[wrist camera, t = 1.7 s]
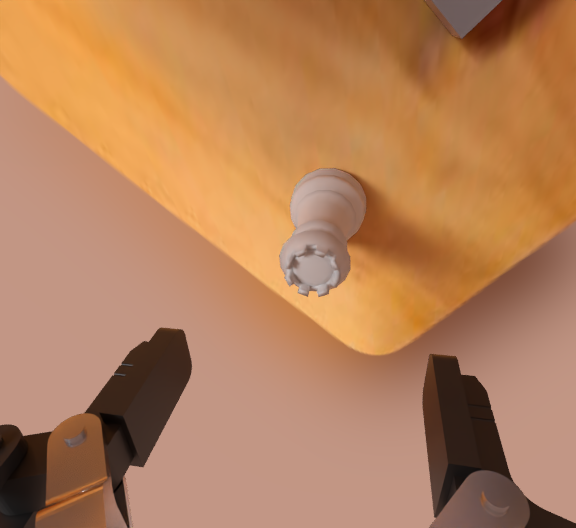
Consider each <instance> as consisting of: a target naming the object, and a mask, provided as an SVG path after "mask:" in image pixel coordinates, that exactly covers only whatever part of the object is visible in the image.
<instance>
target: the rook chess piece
mask: <svg viewBox="0 0 576 528" xmlns="http://www.w3.org/2000/svg"><path fill="white" fill-rule="evenodd" d="M290 212H291V220H292V222H293V224H294V225H295V227H296V229H295V230H294V231H293V234H292V236H291V237H290V238H289V239H288V240H287V241H286V242H285V243H284V244H283V247H282V250H281V252H280V255H279V257H280V266H281V269H282V271H283V272H284V274H285V279H286V281H287V283H288V285H289V286H291V285H293V284H295V285H296V286H298V287H299V290H298V293H299V294H302V295H305V296H307V297H308V294H309V291H317V293H318V297H320V296H324V295H327V294H329V289H332V288H335V287H337V286H338V285H339V284H340V283H342V282H343V281H344V280H345V279H346V277H347V275H348V273H349V271H350V255H349V253H348V251H347V240H348V239H349V238H351V237H352V236H353V235H354V234H355V233H356V232H357V231H358V230H359V228H360V226H361V224H362V222H363V220H364V217H365V213H366V196H365V193H364V191H363V189H362V186H361V184H360V183H359V182H358V181H357V180H355V179H354V178H353V177H352V176H351V175H350V174H348V173H346V172H343V171H341V170H338V169H335V168H330V169H318V170H315V171H313V172H311V173H308V174H306V175H305V176H304V177H303V178H302V179H301V180H300V181H299V182H298V183H297V184H296V186H295V189H294V192H293V195H292V198H291V202H290Z"/></svg>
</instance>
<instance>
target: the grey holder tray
mask: <svg viewBox="0 0 576 528" xmlns="http://www.w3.org/2000/svg"><path fill="white" fill-rule="evenodd" d="M424 1H425V2H426V3H427V5H428V6H429V7H430V8H431V10H432V11H433V12H434V13H435V15H436V16H437V17H438V18H439V20H440V21H441V22H442V23H443V25H444V26H445V27H446V28H447V30H448V31H449V32H450V33H451V35H452V36H455V37H458V38H461V39H462V38H463V37H464V36H465V35H466V34H467V33H468V32H469V31H471V30H472V29H473V28H474V27H475V26H476V25H477V24H478V23H479V22H480V21H481V20H482V19H483V18H484V17H485V16H486V15H487V14H488V13H489V12H490V11H491V10H493V9H494V8H495V7H496V6H497V5H498V4H499V3H500V2H501V1H502V0H424Z"/></svg>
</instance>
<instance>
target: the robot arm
mask: <svg viewBox="0 0 576 528" xmlns="http://www.w3.org/2000/svg"><path fill="white" fill-rule="evenodd" d="M191 370H192V364H191V358H190V353H189V349H188V345H187V341H186V337H185V333H184V331H183V330H181V329H170V328H159V329H158V330H157V331H156V333H155V334H154V336H153V337H152V338H151V340H150V341H149V342H145V341H144V342H142V343H141V344H140V345H138V346H137V347H135V348H134V349H133V350H131V351H130V353H129V354H128V355H127V357H126V358H125V360H124V361H123V362H122V365H121V366H119V367H118V369H117V370H116V371H115V373H114V376H112V377H111V378H110V380H109V381H108V382H107V384H106V385H105V386H104V388H103V389H102V390H101V392H100V393H99V394H98V396H97V397H96V398H95V400H94V401H93V403H92V404H91V405H90V407H89V408H88V409H87V410H86V412H85V413H83V414H78V415H75V416H72V417H70V418H68V419H66V420H65V421H63V422H62V423H60V424H59V425H58V426H57V427H56V428H55V429H54V430H53V431H52V432H46V433H40V434H33V435H27V436H23V435H22V433H21V431H20V430H19V428H18V427H16V426H14V425H0V528H133V524H132V517H131V510H130V504H129V497H128V491H127V484H126V478H125V476H124V475H125V473H126V471H127V469H128V468H129V466H130V465H132V466H139V467H144V465H145V463H146V461H147V459H148V457H149V455H150V453H151V451H152V450H153V447H154V446H155V444H156V442H157V440H158V438H159V436H160V434H161V432H162V430H163V429H164V426H165V425H166V423H167V421H168V419H169V417H170V415H171V413H172V411H173V409H174V408H175V406H176V404H177V402H178V400H179V398H180V396H181V394H182V392H183V390H184V388H185V387H186V384H187V383H188V381H189V378H190V375H191ZM423 415H424V425H425V434H426V443H427V453H428V462H429V471H430V481H431V490H432V499H433V509H434V517H435V518H436V519H435V520H434V522H433V523H432V524H431V526H430V527H429V528H576V523H573V522H571V521H569V520H567V519H564V518H562V517H560V516H558V515H555V514H553V513H551V512H549V511H546V510H544V509H542V508H541V507H539V506H537V505H536V504H534V503H533V502H531V501H530V500H529V499H528V498H527V497H526V496H525V495H524V494H523V492H522V491H521V490H520V489H519V487H518V486H517V485H516V484H515V483H514V482H513V480H512V478H511V475H510V473H509V469H508V466H507V462H506V458H505V455H504V452H503V448H502V444H501V441H500V437H499V433H498V430H497V426H496V423H495V419H494V416H493V412H492V410H491V405H490V401H489V398H488V394H487V391H486V390H485V388H484V387H483V386H482V384H481V383H480V382H479V381H478V380H477V378H476V377H475V376H469V375H461V373H460V368H459V364H458V360H457V357H456V356H446V355H436V354H430V355H429V359H428V365H427V371H426V376H425V383H424V388H423Z"/></svg>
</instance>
